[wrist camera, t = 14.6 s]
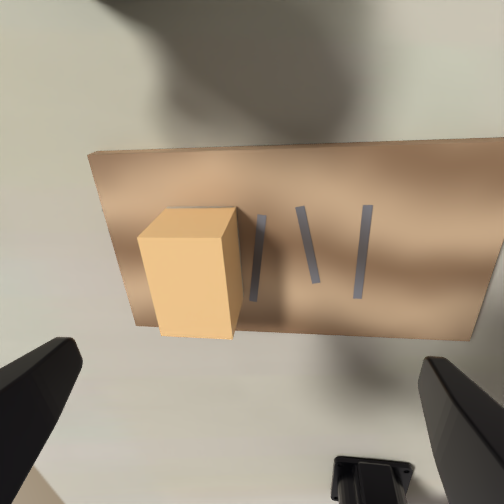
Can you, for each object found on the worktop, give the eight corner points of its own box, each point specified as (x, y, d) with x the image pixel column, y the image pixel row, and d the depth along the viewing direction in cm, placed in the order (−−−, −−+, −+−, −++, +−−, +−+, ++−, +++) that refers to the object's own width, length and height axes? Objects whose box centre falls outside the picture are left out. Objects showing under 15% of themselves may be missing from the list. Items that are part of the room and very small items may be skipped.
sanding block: (244, 295, 21) (232, 339, 18) (183, 293, 22) (161, 336, 18) (236, 206, 18) (221, 237, 15) (167, 206, 19) (136, 237, 15)
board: (462, 330, 21) (469, 341, 21) (141, 316, 25) (135, 326, 24) (523, 136, 16) (537, 140, 15) (97, 151, 19) (86, 155, 18)
